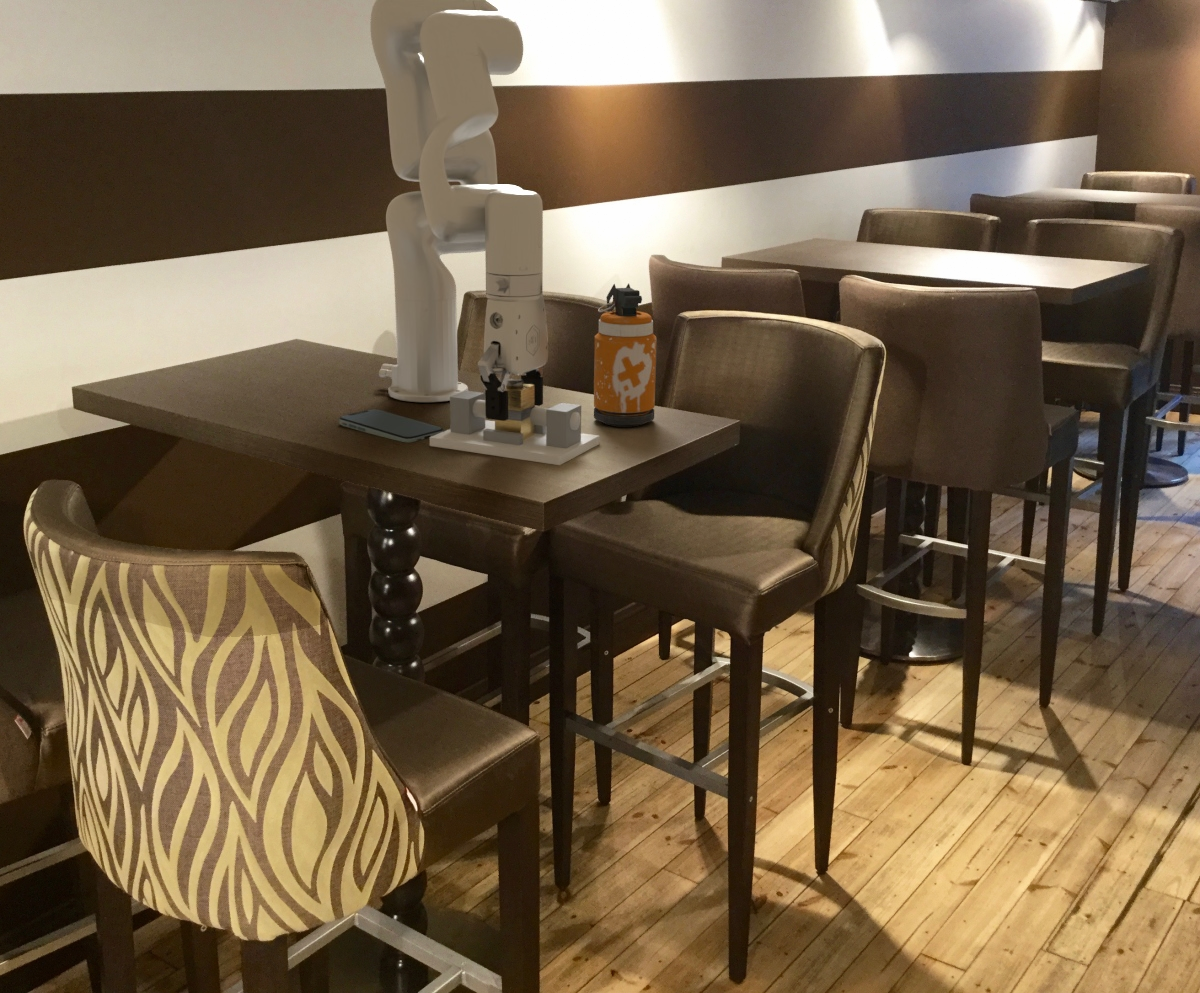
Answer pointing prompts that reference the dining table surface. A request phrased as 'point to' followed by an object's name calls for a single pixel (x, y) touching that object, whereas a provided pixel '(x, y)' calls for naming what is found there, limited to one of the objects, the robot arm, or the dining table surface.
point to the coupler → (518, 409)
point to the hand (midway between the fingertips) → (514, 411)
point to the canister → (624, 362)
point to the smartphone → (389, 425)
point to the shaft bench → (549, 443)
